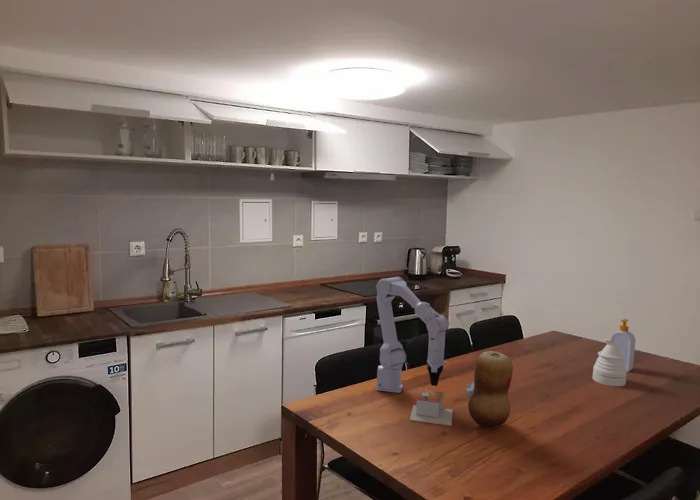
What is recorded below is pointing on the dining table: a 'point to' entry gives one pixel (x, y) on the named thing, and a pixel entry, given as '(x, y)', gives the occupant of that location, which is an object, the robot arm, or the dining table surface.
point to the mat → (443, 419)
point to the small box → (429, 403)
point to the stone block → (470, 388)
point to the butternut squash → (491, 389)
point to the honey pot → (610, 366)
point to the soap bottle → (625, 344)
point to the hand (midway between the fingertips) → (434, 385)
